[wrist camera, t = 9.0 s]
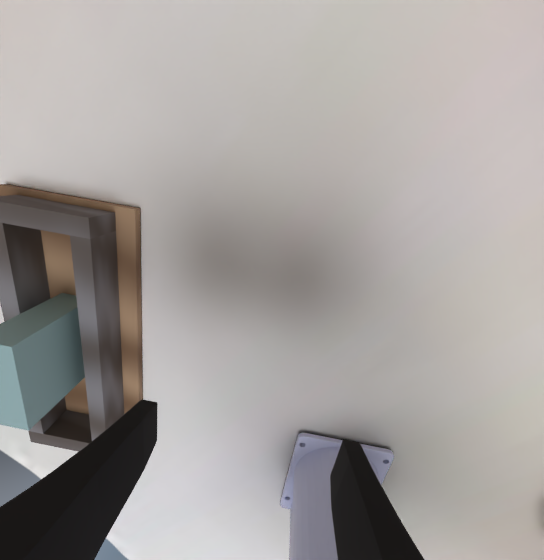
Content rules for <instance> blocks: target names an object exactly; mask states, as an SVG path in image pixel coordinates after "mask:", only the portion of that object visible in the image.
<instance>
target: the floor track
mask: <svg viewBox="0 0 544 560" xmlns="http://www.w3.org/2000/svg"><path fill="white" fill-rule="evenodd" d="M61 293H65V294H70V295H75V296H76V298H77V307H78V317H79V326H80V335H81V344H82V354H83V363H84V372H85V378H83V379H82V380H81V381H80V382H79V383H78V384H77V385H76V386H75V387H74V388H73V389H72V390H71V391H70V392H69V393H68V394H67V395H66V396H65V397H63V398H62V399H61V400H60V401H59V402H58V403H57V404H56V405H55V406H54V407H53V408H52V409H51V410H50V411H49V412H48V413H47V414H46V415H45V416H43V417H42V418H41V419H40V420H39V421H38V422H37V423H36V424H35V425H34V426H33V427H32V428H31V429H30V430H29V435H30V439H31V442H35V443H40V444H45V445H50V446H54V447H59V448H64V449H69V450H74V451H80V450H82V449H83V448H84V447H86V446H87V445H88V444H89V443H90V442H92V441H93V440H94V439H95V438H97V437H98V436H99V435H100V434H102V433H103V432H104V431H105V430H106V429H108V428H109V427H110V426H111V425H112V424H114V423H115V422H116V421H117V420H118V419H119V418H121V417H122V416H123V415H124V414H125V413H126V412H127V411H129V410H130V409H131V408H132V407H133V406H134V405H135V404H137V403H138V402H139V401H140V400H143V389H142V310H141V232H140V208H136V207H130V206H124V205H119V204H113V203H108V202H102V201H97V200H91V199H85V198H80V197H74V196H69V195H63V194H58V193H52V192H46V191H41V190H35V189H30V188H24V187H18V186H13V185H7V184H1V185H0V303H1V307H2V312H3V316H4V321H7V320H9V319H11V318H13V317H15V316H17V315H19V314H21V313H23V312H25V311H27V310H29V309H31V308H33V307H35V306H37V305H39V304H41V303H43V302H45V301H47V300H49V299H51V298H53V297H55V296H57V295H59V294H61Z"/></svg>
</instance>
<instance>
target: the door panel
mask: <svg viewBox="0 0 544 560" xmlns="http://www.w3.org/2000/svg"><path fill="white" fill-rule="evenodd" d="M83 378H85V372H84V363H83V354H82V344H81V335H80V326H79V317H78V307H77V298H76V296H75V295H70V294H65V293H61V294H59V295H57V296H55V297H53V298H51V299H49V300H47V301H45V302H43V303H41V304H39V305H37V306H35V307H33V308H31V309H29V310H27V311H25V312H23V313H21V314H19V315H17V316H15V317H13V318H11V319H9V320H7V321H5V322H3V323H1V324H0V425H5V426H10V427H15V428H19V429H24V430H30V429H31V428H32V427H33V426H34V425H35V424H36V423H37V422H38V421H39V420H40V419H41V418H42V417H43V416H45V415H46V414H47V413H48V412H49V411H50V410H51V409H52V408H53V407H54V406H55V405H56V404H57V403H58V402H59V401H60V400H61V399H62V398H63V397H65V396H66V395H67V394H68V393H69V392H70V391H71V390H72V389H73V388H74V387H75V386H76V385H77V384H78V383H79V382H80V381H81V380H82V379H83Z"/></svg>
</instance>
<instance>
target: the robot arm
mask: <svg viewBox="0 0 544 560" xmlns="http://www.w3.org/2000/svg"><path fill="white" fill-rule="evenodd" d="M156 441H157V402H152V401H147V400H140V401H139V402H138V403H137V404H135V405H134V406H133V407H132V408H131V409H130V410H129V411H127V412H126V413H125V414H124V415H123V416H122V417H121V418H119V419H118V420H117V421H116V422H115V423H114V424H112V425H111V426H110V427H109V428H108V429H106V430H105V431H104V432H103V433H102V434H100V435H99V436H98V437H97V438H95V439H94V440H93V441H92V442H90V443H89V444H88V445H87V446H86V447H84V448H83V449H82V450H80V451H79V452H78V453H77V454H75V455H74V456H73V457H71V458H70V459H69V460H67V461H66V462H65V463H63V464H62V465H61V466H59V467H58V468H57V469H55V470H54V471H53V472H51V473H50V474H48V475H47V476H46V477H44V478H43V479H41V480H40V481H39V482H37V483H36V484H34V485H33V486H31V487H30V488H29V489H27V490H26V491H24V492H22V493H21V494H19V495H18V496H16V497H15V498H13V499H12V500H10V501H9V502H7V503H6V504H4V505H3V506H1V507H0V560H94V559H95V557H96V555H97V553H98V551H99V549H100V547H101V546H102V544H103V542H104V540H105V538H106V536H107V535H108V533H109V531H110V529H111V528H112V526H113V524H114V522H115V521H116V519H117V517H118V515H119V513H120V512H121V510H122V508H123V506H124V505H125V503H126V501H127V499H128V498H129V496H130V494H131V492H132V490H133V489H134V487H135V485H136V483H137V481H138V480H139V478H140V476H141V474H142V472H143V471H144V469H145V466H146V464H147V462H148V460H149V457H150V455H151V453H152V451H153V448H154V446H155V444H156ZM393 459H394V455H393V452H392V451H391V450H389V449H384V448H379V447H374V446H369V445H364V444H360V443H359V442H354V441H349V440H344V439H343V440H339V439H334V438H329V437H324V436H319V435H314V434H309V433H300V434H298V436H297V440H296V444H295V448H294V451H293V455H292V459H291V462H290V466H289V470H288V474H287V477H286V481H285V485H284V488H283V492H282V496H281V500H280V505H281V507H283V508H287V509H291V510H290V548H289V560H424V558H423V557H422V555H421V554H420V552H419V550H418V549H417V547H416V546H415V544H414V542H413V541H412V539H411V537H410V536H409V534H408V532H407V531H406V529H405V527H404V526H403V524H402V522H401V520H400V519H399V517H398V515H397V513H396V512H395V510H394V508H393V506H392V504H391V503H390V501H389V499H388V497H387V495H386V494H385V492H384V490H383V488H382V486H381V485H382V483H383V480H384V478H385V476H386V474H387V472H388V470H389V467H390V465H391V463H392V461H393Z"/></svg>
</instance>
